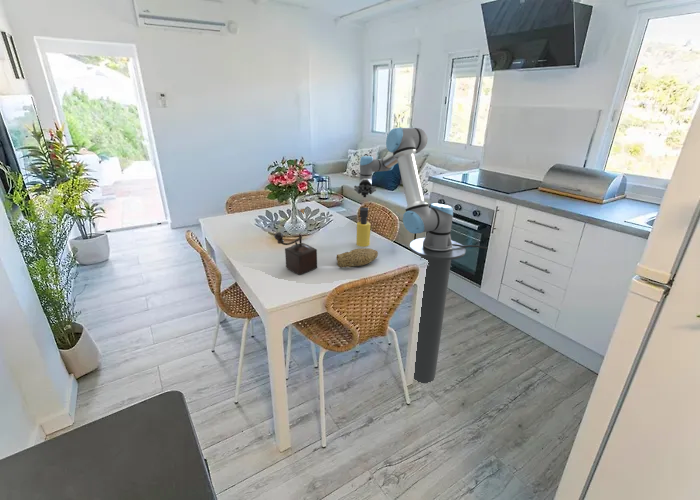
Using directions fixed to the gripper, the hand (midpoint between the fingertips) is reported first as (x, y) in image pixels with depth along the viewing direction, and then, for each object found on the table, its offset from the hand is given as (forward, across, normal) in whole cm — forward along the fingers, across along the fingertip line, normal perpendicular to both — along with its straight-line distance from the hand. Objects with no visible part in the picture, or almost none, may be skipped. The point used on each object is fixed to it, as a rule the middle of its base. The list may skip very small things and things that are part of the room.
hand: (364, 194), depth 185 cm
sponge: (+35, +2, -25) cm, 43 cm away
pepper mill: (+44, +29, -25) cm, 58 cm away
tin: (-23, +40, -25) cm, 53 cm away
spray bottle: (+11, 0, -25) cm, 27 cm away
